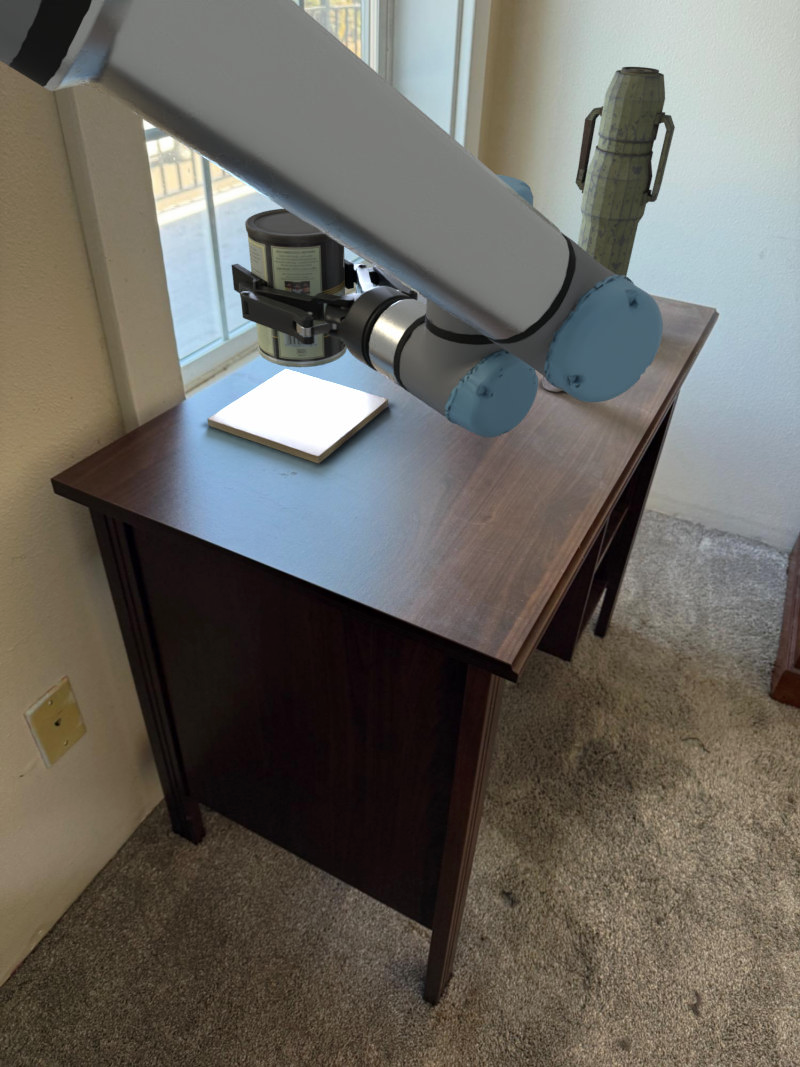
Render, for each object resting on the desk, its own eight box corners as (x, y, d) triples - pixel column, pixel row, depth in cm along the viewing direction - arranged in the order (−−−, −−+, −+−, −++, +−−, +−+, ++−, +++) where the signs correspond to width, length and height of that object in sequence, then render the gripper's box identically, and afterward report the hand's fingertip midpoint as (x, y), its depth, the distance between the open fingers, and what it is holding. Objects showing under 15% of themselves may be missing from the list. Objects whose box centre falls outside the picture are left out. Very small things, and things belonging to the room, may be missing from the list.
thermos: (558, 313, 122) (602, 61, 100) (631, 328, 118) (692, 70, 96) (542, 332, 115) (585, 68, 94) (618, 349, 112) (681, 77, 90)
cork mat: (318, 464, 84) (318, 456, 84) (208, 425, 90) (206, 418, 89) (388, 406, 95) (388, 399, 95) (285, 375, 101) (285, 368, 100)
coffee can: (322, 324, 91) (318, 202, 83) (362, 357, 85) (362, 228, 76) (243, 340, 87) (230, 213, 78) (278, 375, 80) (268, 241, 72)
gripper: (295, 404, 67) (189, 321, 80) (483, 347, 78) (361, 282, 91) (290, 324, 62) (179, 250, 76) (490, 275, 73) (362, 218, 87)
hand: (279, 268), depth 84 cm, fingers closed on coffee can, 10 cm apart
